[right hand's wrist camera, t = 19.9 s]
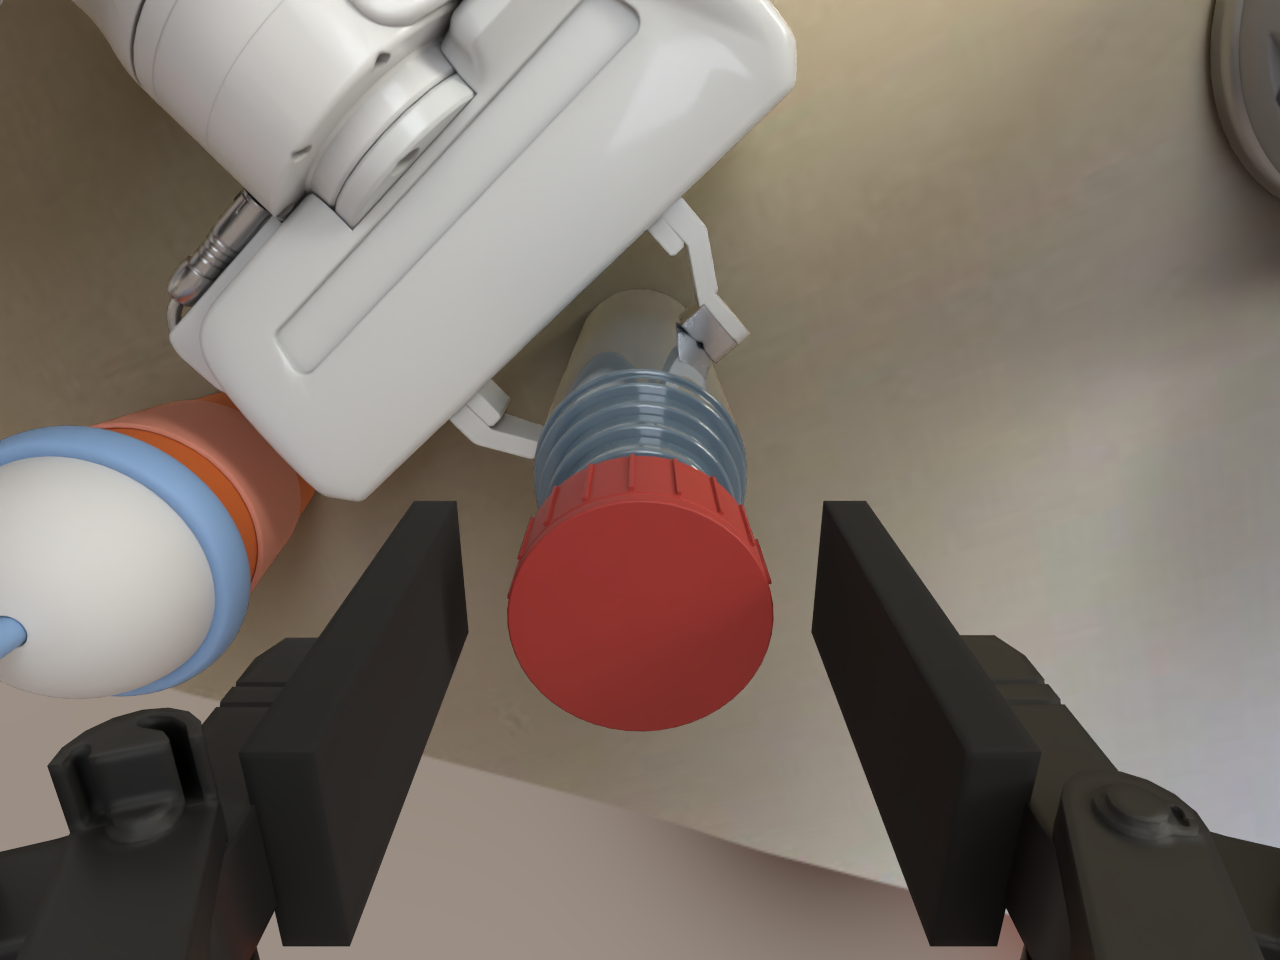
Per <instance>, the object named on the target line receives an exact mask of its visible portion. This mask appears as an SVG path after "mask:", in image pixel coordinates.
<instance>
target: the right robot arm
mask: <svg viewBox="0 0 1280 960" xmlns="http://www.w3.org/2000/svg"><path fill="white" fill-rule="evenodd" d="M1210 62H1211V79H1212V87H1213V95H1214V99H1215V104H1216V108H1217V112H1218V116H1219V119H1220V122H1221V125H1222V127H1223V130H1224V133H1225V135H1226V137H1227V139H1228V141H1229V143H1230V145H1231V147H1232V149H1233V151H1234V153H1235V154H1236V156H1237V157H1238V159H1239V160H1240V162H1241V163H1242V165H1243V166H1244V168H1245V169H1246V170H1247V171H1248V172H1249V173H1250V175H1251V176H1252V177H1253V178H1254V179H1255V180H1256V181H1257V182H1258V183H1259V184H1260V185H1261V186H1262V187H1264V188H1265V189H1266V190H1267V191H1268V192H1269V193H1271V194H1272V195H1274V196H1275V197H1277V198H1278V199H1280V0H1216V3H1215V10H1214V16H1213V23H1212V31H1211V47H1210ZM467 635H468V621H467V610H466V600H465V589H464V578H463V567H462V556H461V545H460V534H459V523H458V513H457V502H456V501H414V502H413V503H412V505H411V506H410V508H409V509H408V511H407V512H406V513H405V515H404V516H403V518H402V519H401V520H400V522H399V523H398V525H397V526H396V528H395V529H394V530H393V532H392V533H391V535H390V536H389V538H388V539H387V540H386V542H385V543H384V545H383V546H382V548H381V549H380V550H379V552H378V553H377V555H376V556H375V558H374V559H373V560H372V562H371V563H370V565H369V566H368V568H367V569H366V570H365V572H364V573H363V575H362V576H361V578H360V579H359V580H358V582H357V583H356V585H355V586H354V588H353V589H352V590H351V592H350V593H349V595H348V596H347V598H346V599H345V600H344V602H343V603H342V605H341V606H340V608H339V609H338V610H337V612H336V613H335V615H334V616H333V618H332V619H331V620H330V622H329V623H328V625H327V626H326V628H325V629H324V630H323V632H322V633H321V635H320V636H319V638H285V639H283V640H282V641H280V642H279V643H277V644H276V645H274V646H273V647H272V648H270V649H269V650H267V651H266V652H264V653H263V654H261V655H260V656H258V657H257V658H255V659H254V661H253V662H252V663H251V664H250V666H249V667H248V668H247V669H246V671H245V672H244V673H243V674H242V676H241V677H240V678H239V679H238V681H237V682H236V687H232V688H231V689H230V691H229V692H228V693H227V694H226V695H225V697H224V698H223V699H222V700H221V702H220V707H216V708H215V709H214V711H213V712H212V713H211V714H210V715H209V717H208V718H207V719H206V720H205V722H204V723H203V724H201V721H200V720H199V719H197V718H196V717H195V716H194V715H192V714H191V713H190V712H189V711H183V710H178V709H173V708H159V709H147V710H140V711H136V712H133V713H129V714H126V715H122V716H118V717H115V718H112V719H110V720H108V721H106V722H104V723H101V724H99V725H97V726H95V727H93V728H91V729H89V730H86V731H85V732H83V733H82V734H81V735H79V736H78V737H76V738H75V739H74V740H72V741H71V742H69V743H68V744H67V745H65V746H64V747H62V748H61V750H60V751H59V752H58V753H57V755H56V756H55V757H54V758H53V760H52V761H51V762H50V763H49V765H48V769H49V772H50V775H51V778H52V781H53V784H54V787H55V790H56V793H57V796H58V798H59V801H60V804H61V807H62V810H63V813H64V816H65V819H66V822H67V825H68V828H69V830H70V834H69V835H68V836H65V837H62V838H58V839H54V840H50V841H46V842H41V843H37V844H33V845H28V846H24V847H20V848H15V849H11V850H7V851H2V852H0V960H260V959H259V955H258V951H257V945H258V943H259V941H260V939H261V937H262V935H263V933H264V931H265V929H266V927H267V925H268V923H269V921H270V919H271V917H272V915H273V913H274V911H275V914H276V918H277V923H278V927H279V931H280V936H281V940H282V944H283V946H350V944H351V941H352V939H353V936H354V934H355V931H356V928H357V926H358V923H359V920H360V918H361V915H362V913H363V910H364V907H365V905H366V902H367V899H368V897H369V894H370V891H371V889H372V886H373V883H374V881H375V878H376V875H377V873H378V870H379V868H380V865H381V862H382V860H383V857H384V854H385V852H386V849H387V846H388V844H389V841H390V838H391V836H392V833H393V831H394V828H395V825H396V823H397V820H398V817H399V814H400V812H401V809H402V807H403V804H404V801H405V799H406V796H407V793H408V791H409V788H410V786H411V783H412V780H413V778H414V775H415V772H416V770H417V767H418V764H419V762H420V759H421V756H422V754H423V751H424V749H425V746H426V743H427V741H428V738H429V735H430V733H431V730H432V727H433V725H434V722H435V719H436V717H437V714H438V711H439V709H440V706H441V704H442V701H443V698H444V696H445V693H446V690H447V688H448V685H449V682H450V680H451V677H452V674H453V672H454V669H455V666H456V664H457V661H458V659H459V656H460V653H461V651H462V648H463V645H464V643H465V640H466V637H467ZM812 635H813V637H814V640H815V643H816V645H817V648H818V651H819V653H820V656H821V659H822V661H823V664H824V667H825V669H826V672H827V674H828V677H829V680H830V682H831V685H832V688H833V690H834V693H835V696H836V698H837V701H838V704H839V706H840V709H841V711H842V714H843V717H844V719H845V722H846V725H847V727H848V730H849V733H850V735H851V738H852V741H853V743H854V746H855V749H856V751H857V754H858V756H859V759H860V762H861V764H862V767H863V770H864V772H865V775H866V778H867V780H868V783H869V786H870V788H871V791H872V793H873V796H874V799H875V801H876V804H877V807H878V809H879V812H880V815H881V817H882V820H883V823H884V825H885V828H886V831H887V833H888V836H889V838H890V841H891V844H892V846H893V849H894V852H895V854H896V857H897V860H898V862H899V865H900V868H901V870H902V873H903V875H904V878H905V881H906V883H907V886H908V889H909V891H910V894H911V897H912V899H913V902H914V905H915V907H916V910H917V912H918V915H919V918H920V920H921V923H922V926H923V928H924V931H925V934H926V936H927V939H928V942H929V944H930V946H997V944H998V940H999V936H1000V931H1001V927H1002V923H1003V918H1004V914H1005V910H1006V909H1007V911H1008V913H1009V915H1010V917H1011V919H1012V921H1013V923H1014V925H1015V927H1016V929H1017V931H1018V933H1019V935H1020V937H1021V939H1022V941H1023V943H1024V947H1023V951H1022V955H1021V959H1020V960H1280V848H1276V847H1271V846H1267V845H1262V844H1258V843H1254V842H1249V841H1245V840H1241V839H1236V838H1232V837H1227V836H1223V835H1220V834H1217V833H1213V832H1210V831H1209V829H1208V828H1207V827H1206V825H1205V824H1204V822H1203V821H1202V819H1201V818H1200V816H1199V815H1198V814H1197V812H1196V811H1195V810H1193V809H1192V808H1191V807H1190V806H1188V805H1187V804H1186V803H1185V802H1184V801H1182V800H1181V799H1180V798H1179V797H1177V796H1176V795H1175V794H1173V793H1171V792H1170V791H1168V790H1166V789H1164V788H1162V787H1160V786H1158V785H1156V784H1154V783H1152V782H1151V781H1149V780H1146V779H1143V778H1140V777H1136V776H1133V775H1130V774H1127V773H1124V772H1120V771H1118V770H1117V769H1116V768H1115V766H1114V765H1113V764H1112V763H1111V761H1110V760H1109V759H1108V758H1107V756H1106V755H1105V754H1104V753H1103V752H1102V750H1101V749H1100V748H1099V747H1098V745H1097V744H1096V743H1095V742H1094V740H1093V739H1092V738H1091V737H1090V735H1089V734H1088V733H1087V732H1086V730H1085V729H1084V728H1083V727H1082V726H1081V724H1080V723H1079V722H1078V721H1077V719H1076V718H1075V717H1074V716H1073V714H1072V713H1071V712H1070V711H1069V709H1068V708H1067V707H1066V706H1065V704H1061V702H1060V698H1059V697H1058V696H1057V695H1056V693H1055V692H1054V691H1053V690H1052V688H1051V687H1050V686H1049V685H1048V684H1045V683H1044V678H1043V677H1042V676H1041V675H1040V673H1039V672H1038V671H1037V670H1036V669H1035V667H1034V666H1033V665H1032V664H1031V662H1030V661H1029V660H1028V659H1027V657H1026V656H1025V655H1023V654H1022V653H1020V652H1019V651H1017V650H1016V649H1014V648H1013V647H1011V646H1010V645H1008V644H1007V643H1005V642H1004V641H1002V640H1001V639H999V638H998V637H996V636H995V635H959V633H958V632H957V630H956V629H955V628H954V626H953V625H952V623H951V622H950V620H949V619H948V618H947V616H946V615H945V613H944V612H943V610H942V609H941V608H940V606H939V605H938V603H937V602H936V600H935V599H934V598H933V596H932V595H931V593H930V592H929V590H928V589H927V588H926V586H925V585H924V583H923V582H922V580H921V579H920V578H919V576H918V575H917V573H916V572H915V570H914V569H913V568H912V566H911V565H910V563H909V562H908V560H907V559H906V558H905V556H904V555H903V553H902V552H901V550H900V549H899V548H898V546H897V545H896V543H895V542H894V541H893V539H892V538H891V536H890V535H889V533H888V532H887V531H886V529H885V528H884V526H883V525H882V523H881V522H880V521H879V519H878V518H877V516H876V515H875V513H874V512H873V511H872V509H871V508H870V506H869V505H868V503H867V502H866V501H824V502H823V513H822V523H821V534H820V545H819V556H818V567H817V578H816V589H815V600H814V610H813V621H812Z"/></svg>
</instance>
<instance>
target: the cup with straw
mask: <svg viewBox="0 0 1280 960" xmlns="http://www.w3.org/2000/svg"><path fill="white" fill-rule="evenodd" d="M314 492H315V489H314V488H313V487H312V486H310V485H309V484H308V483H307V482H306V481H305V480H304V479H303V478H302V477H301V476H300V475H299V474H298V473H297V472H296V471H295V470H294V469H293V468H292V467H291V466H290V465H289V464H288V463H287V462H286V461H285V460H284V459H283V458H282V457H281V456H280V455H279V454H278V453H277V452H276V451H275V450H274V449H273V448H272V446H271V445H270V444H269V443H268V442H267V441H266V440H265V439H264V438H263V437H262V436H261V435H260V433H259V432H258V431H257V430H256V429H255V428H254V427H253V425H252V424H251V423H250V422H249V421H248V420H247V419H246V417H245V416H244V415H243V414H242V413H241V411H240V410H239V409H238V408H237V407H236V405H235V404H234V403H233V402H232V401H231V399H230V398H229V397H228V396H227V394H226V393H224V392H222V393H216V394H212V395H208V396H205V397H201V398H198V399H195V400H182V401H174V402H170V403H165V404H162V405H158V406H155V407H152V408H148V409H145V410H142V411H138V412H135V413H132V414H128V415H125V416H122V417H118V418H115V419H112V420H108V421H105V422H102V423H98V424H95V425H92V426H89V427H85V426H51V427H44V428H37V429H32V430H28V431H25V432H21V433H18V434H14V435H12V436H9V437H7V438H5V439H2V440H0V681H1V682H3V683H5V684H7V685H9V686H12V687H14V688H17V689H20V690H23V691H27V692H31V693H34V694H38V695H43V696H48V697H56V698H67V699H86V698H99V697H106V696H136V695H143V694H149V693H154V692H158V691H162V690H165V689H168V688H171V687H174V686H176V685H179V684H181V683H183V682H185V681H187V680H189V679H191V678H192V677H194V676H196V675H197V674H199V673H201V672H202V671H203V670H205V669H206V668H207V667H209V666H210V665H211V664H213V663H214V662H215V661H216V660H217V659H218V658H219V657H220V656H221V655H222V654H223V653H224V652H225V650H226V649H227V648H228V647H229V645H230V644H231V643H232V641H233V640H234V638H235V636H236V635H237V633H238V632H239V629H240V627H241V625H242V623H243V621H244V618H245V615H246V612H247V608H248V604H249V598H250V594H251V592H252V591H253V589H254V588H255V587H256V585H257V584H258V582H259V581H260V580H261V578H262V577H263V575H264V574H265V572H266V571H267V570H268V568H269V567H270V565H271V564H272V562H273V561H274V560H275V558H276V557H277V555H278V554H279V553H280V551H281V550H282V548H283V547H284V545H285V544H286V543H287V541H288V540H289V538H290V537H291V535H292V533H293V531H294V529H295V527H296V524H297V521H298V519H299V516H300V515H301V513H302V512H303V510H304V509H305V508H306V506H307V505H308V503H309V501H310V500H311V498H312V496H313V494H314Z"/></svg>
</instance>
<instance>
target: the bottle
mask: <svg viewBox="0 0 1280 960" xmlns="http://www.w3.org/2000/svg"><path fill="white" fill-rule="evenodd" d="M685 310H686V308H685V307H684V306H683V305H682V304H681V303H679V302H678V301H677V300H675V299H674V298H672V297H670V296H669V295H666V294H664V293H661V292H658V291H654V290H649V289H632V290H626V291H622V292H619V293H617V294H614V295H612V296H610V297H608V298H607V299H605V300H604V301H602V302H601V303H600V304H599V305H597V306H596V307H595V308H594V310H593V311H592V312H591V313H590V314H589V316H588V317H587V319H586V321H585V322H584V324H583V326H582V329H581V331H580V334H579V337H578V339H577V342H576V344H575V347H574V349H573V352H572V355H571V357H570V360H569V362H568V365H567V367H566V370H565V373H564V375H563V378H562V380H561V383H560V385H559V388H558V391H557V393H556V396H555V398H554V401H553V403H552V406H551V409H550V411H549V414H548V416H547V419H546V421H545V424H544V426H543V429H542V432H541V434H540V437H539V440H538V443H537V447H536V452H535V460H534V489H535V497H536V502H537V506H538V509H540V507H541V506H542V504H543V503H544V501H545V500H546V499H547V498H548V497H549V495H550V494H551V493H552V489H553V487H554V486H555V485H557V486H560V485H561V484H562V483H563V482H564V481H565V480H567V479H568V478H570V477H571V476H573V475H574V474H576V473H577V472H579V471H581V470H583V469H585V468H587V466H588V464H591V463H592V464H593V465H594V464H597V463H600V462H603V461H606V460H611V459H615V458H620V457H630V454H635V456H654V457H660V458H666V459H671V460H673V458H675V459H678V462H681V463H684V464H687V465H689V466H691V467H693V468H696V469H698V470H700V471H701V472H703V473H705V474H706V475H708V476H710V477H712V476H714V477H715V478H716V480H717V482H718V483H719V484H720V485H721V486H723V487H724V488H725V489H726V490H727V491H728V493H729V494H730V495H731V496H732V497H733V498H734V499H735V501H736V502H737V503H738V505H740V504H742V505H744V500H745V494H746V480H747V478H746V469H747V464H746V454H745V449H744V445H743V441H742V438H741V435H740V433H739V430H738V428H737V425H736V423H735V420H734V418H733V415H732V412H731V410H730V407H729V405H728V402H727V400H726V397H725V394H724V392H723V389H722V387H721V384H720V382H719V379H718V377H717V374H716V371H715V369H714V366H713V364H712V361H711V359H710V357H709V356H708V355H707V353H706V352H705V351H704V349H703V347H702V344H701V342H697V341H695V340H694V339H693V338H692V337H691V336H690V335H689V334H688V333H687V332H686V331H685V329H684V328H683V327H682V326H681V324H680V322H681V321H680V320H679V316H680V315H681V314H682V313H683V312H684V311H685Z"/></svg>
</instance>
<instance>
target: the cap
mask: <svg viewBox="0 0 1280 960" xmlns="http://www.w3.org/2000/svg"><path fill="white" fill-rule="evenodd" d="M517 559H519V561H518V564H517V567H516V571H515V574H514V577H513V580H512V583H511V586H510V589H509V593H508V599H509V601H508V609H507V615H508V630H509V635H510V640H511V644H512V647H513V650H514V653H515V655H516V657H517V659H518V661H519V663H520V665H521V667H522V669H523V670H524V672H525V673H526V675H527V676H528V678H529V679H530V681H531V682H532V683H533V684H534V685H535V686H536V688H537V689H538V690H539V691H540V692H541V693H542V694H543V695H544V696H546V697H547V698H548V699H549V700H550V701H551V702H553V703H554V704H555V705H557V706H558V707H560V708H561V709H563V710H564V711H566V712H568V713H570V714H572V715H574V716H576V717H578V718H579V719H582V720H585V721H587V722H590V723H593V724H595V725H599V726H603V727H607V728H611V729H618V730H625V731H655V730H663V729H669V728H674V727H678V726H681V725H685V724H688V723H691V722H694V721H696V720H698V719H701V718H703V717H706V716H707V715H709V714H711V713H713V712H714V711H716V710H718V709H720V708H721V707H722V706H724V705H725V704H727V703H728V702H729V701H731V700H732V699H733V698H734V697H735V696H736V695H737V694H738V693H739V692H741V691H742V690H743V689H744V687H745V686H746V685H747V684H748V683H749V681H750V680H751V679H752V678H753V676H754V675H755V673H756V671H757V670H758V668H759V667H760V665H761V663H762V661H763V659H764V656H765V654H766V652H767V650H768V646H769V642H770V639H771V635H772V627H773V602H772V597H771V591H770V587H769V584H771V579H770V576H769V573H768V570H767V567H766V564H765V561H764V557H763V554H762V551H761V548H760V545H759V542H758V539H755V540H754V537H753V534H752V531H751V528H750V525H749V522H748V519H747V516H746V512H745V509H744V507H743V505H742V504H740V505H738V503H737V502H736V501H735V499H734V498H733V497H732V496H731V495H730V494H729V493H728V491H727V490H726V489H725V488H724V487H723V486H721V485H720V484H719V483H718V482H717V480H716V478H715V477H714V476H712V477H710V476H708V475H706V474H705V473H703V472H701V471H700V470H698V469H696V468H693V467H691V466H689V465H687V464H684V463H681V462H678V459H675V458H673V460H671V459H666V458H660V457H654V456H635V454H630V457H620V458H615V459H611V460H606V461H603V462H600V463H597V464H594V465H593V464H592V463H591V464H588V466H587V468H585V469H583V470H581V471H579V472H577V473H576V474H574V475H573V476H571V477H570V478H568V479H567V480H565V481H564V482H563V483H562V484H561V485H560V486H557V485H555V486H554V487H553V489H552V493H551V494H550V495H549V497H548V498H547V499H546V500H545V501H544V503H543V504H542V506H541V507H540V509H539V510H538V512H537V514H536V516H535V518H534V517H531V518H530V521H529V524H528V527H527V530H526V533H525V536H524V539H523V542H522V545H521V549H520V552H519V555H518V558H517Z"/></svg>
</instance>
